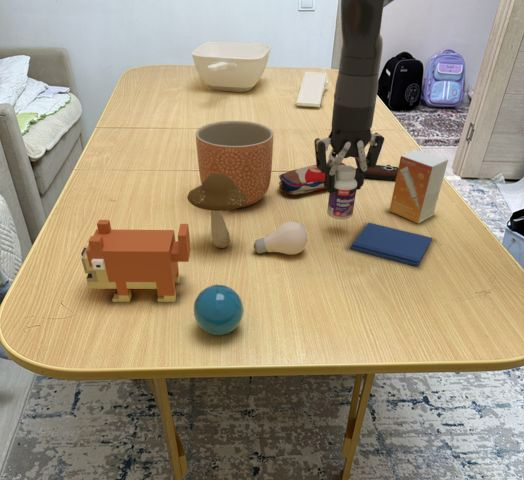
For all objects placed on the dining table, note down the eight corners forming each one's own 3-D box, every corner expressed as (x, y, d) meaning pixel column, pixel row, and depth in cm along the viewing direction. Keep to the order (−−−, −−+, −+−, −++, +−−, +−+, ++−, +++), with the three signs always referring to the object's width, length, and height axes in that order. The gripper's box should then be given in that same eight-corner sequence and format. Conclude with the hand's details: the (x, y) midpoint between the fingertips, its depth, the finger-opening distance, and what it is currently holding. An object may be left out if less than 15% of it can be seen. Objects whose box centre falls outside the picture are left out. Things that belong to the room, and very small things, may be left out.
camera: (360, 159, 130) (402, 163, 129) (358, 170, 132) (399, 174, 131) (360, 166, 125) (404, 171, 124) (358, 177, 127) (401, 182, 126)
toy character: (98, 276, 91) (83, 216, 83) (194, 276, 92) (189, 217, 84) (86, 304, 85) (69, 242, 77) (190, 304, 85) (184, 243, 77)
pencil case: (358, 194, 120) (362, 174, 117) (281, 200, 117) (282, 180, 113) (343, 176, 128) (346, 157, 125) (271, 181, 125) (271, 162, 121)
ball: (245, 315, 83) (245, 275, 78) (241, 346, 77) (241, 305, 72) (198, 313, 83) (195, 273, 78) (191, 344, 77) (187, 303, 72)
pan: (272, 81, 199) (273, 42, 190) (251, 113, 167) (251, 68, 158) (208, 76, 203) (206, 38, 194) (176, 107, 171) (172, 63, 162)
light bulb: (258, 257, 102) (310, 244, 101) (258, 268, 97) (312, 255, 95) (250, 227, 99) (302, 213, 98) (248, 237, 94) (304, 222, 92)
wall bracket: (317, 125, 175) (324, 93, 193) (324, 105, 170) (330, 74, 188) (290, 116, 174) (300, 85, 192) (296, 96, 169) (306, 65, 187)
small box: (388, 211, 113) (399, 155, 105) (404, 203, 116) (416, 148, 108) (418, 224, 109) (432, 166, 100) (434, 215, 112) (449, 158, 103)
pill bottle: (334, 222, 101) (340, 175, 94) (322, 210, 104) (327, 165, 98) (357, 217, 102) (364, 171, 96) (344, 207, 106) (350, 162, 99)
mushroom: (198, 232, 104) (193, 162, 94) (251, 238, 103) (250, 167, 93) (185, 254, 98) (178, 181, 88) (241, 260, 96) (240, 187, 86)
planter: (193, 188, 121) (187, 124, 111) (258, 180, 125) (258, 117, 115) (210, 219, 109) (206, 150, 99) (281, 209, 113) (284, 141, 103)
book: (431, 240, 104) (432, 235, 103) (417, 266, 96) (418, 262, 95) (368, 224, 108) (368, 220, 108) (349, 249, 100) (350, 244, 100)
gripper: (326, 108, 84) (317, 201, 95) (400, 102, 88) (383, 193, 99) (310, 96, 89) (303, 186, 101) (380, 91, 93) (366, 178, 104)
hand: (343, 189), depth 100 cm, fingers closed on pill bottle, 5 cm apart
